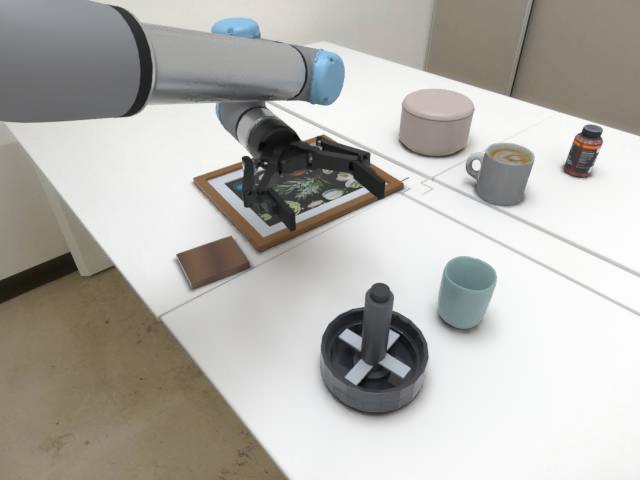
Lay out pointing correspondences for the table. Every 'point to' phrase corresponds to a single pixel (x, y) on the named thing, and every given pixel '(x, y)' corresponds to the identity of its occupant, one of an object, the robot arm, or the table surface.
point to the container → (435, 121)
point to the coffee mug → (502, 172)
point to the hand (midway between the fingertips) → (340, 206)
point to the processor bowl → (405, 349)
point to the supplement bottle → (584, 151)
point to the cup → (465, 291)
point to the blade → (375, 340)
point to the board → (212, 261)
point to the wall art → (290, 199)
